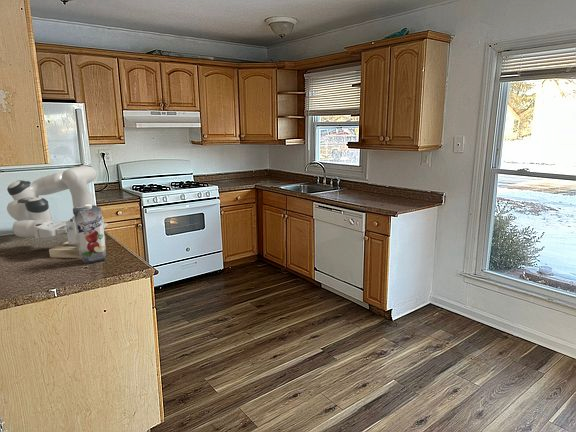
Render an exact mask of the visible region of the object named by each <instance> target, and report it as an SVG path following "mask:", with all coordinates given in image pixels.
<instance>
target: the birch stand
mask: <svg viewBox="0 0 576 432" xmlns="http://www.w3.org/2000/svg"><path fill="white" fill-rule="evenodd" d="M48 252H49V258H61V259H62V258H63V259H64V258H67V259H68V258H71V259H72V258H74V259H79V258H80V259H81V257H80V254H79V247H78V241H77V242H76V245H68V240H66V241H64V242H62V243H60V244H58V245H56V246H53V247H52V248H49V249H48Z"/></svg>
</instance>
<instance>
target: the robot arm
mask: <svg viewBox="0 0 576 432" xmlns="http://www.w3.org/2000/svg"><path fill="white" fill-rule="evenodd" d="M96 178H97V172H96V169H94V167H92V166H88V165H80V166H73V167H69V168H67V169H66V170H63V171H62V170H61V171H58V172H54V173H51V174H47V175H45V176H41V177H39V178H38V179H35V180H34V181H33V182H31V181H30V180H16V181H13V182H11V183H10V184H9V185H8V187H7V192H8V194H9V196H11V198H12V199H13V200H12V201H10V202H8V204H7V206H6V211H7V214H8V215H9V216H10V217H11V218H12V219H14V220H15V221H14V222H13V224H12V230H13V231H12V232H13V233H14V235H15V236H17V237H21V238H35V239H36V240H41V239H47V238H53V237H55V236H58V235H60V234H67V232H68V229H66V223H65V222H66V221H67V220H60V221H57V222H53V219H52V214H51V211H50V208H49V207H50V205H49V201H48V200H47V199H46V198H44V197H39V196H47V195H52V194H56V193H60V192H63V191H66V190H68V191H69V192H70V194H71V200H72V206H73V208H72V214H73V216H72V218H74V219H75V212H74V208H76V207H85V205H88V204H90V205H94V199H93V198H94V197H93V194H92V193H91V191H90V190H89V188H88V184H90V183H92V182H93V181H94V180H95V179H96ZM72 218H71V219H72ZM108 225H109V223H107V222H104V229H105V228H106V227H107V226H108Z"/></svg>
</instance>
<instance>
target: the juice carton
mask: <svg viewBox="0 0 576 432" xmlns="http://www.w3.org/2000/svg"><path fill="white" fill-rule="evenodd" d="M74 212H75V224H76V232H77V240H78V247H79V254H80V257H81V258H80V259H81V261H82V262H83V263H84V264H85V265H89V264H95V263H99V262H102V261H103V262H104V261H105V260H106V256H107V255H106V254H107V251H106V250H107V249H106V238H105V239H104V231H105V229H104V230H103V222H104V220H103V221H102V216H103V215H102V208H101V207H100V206H98V205H96V204H95V205H94V204H93V205H90V204H88V205H85V207H76V208H74Z"/></svg>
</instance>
